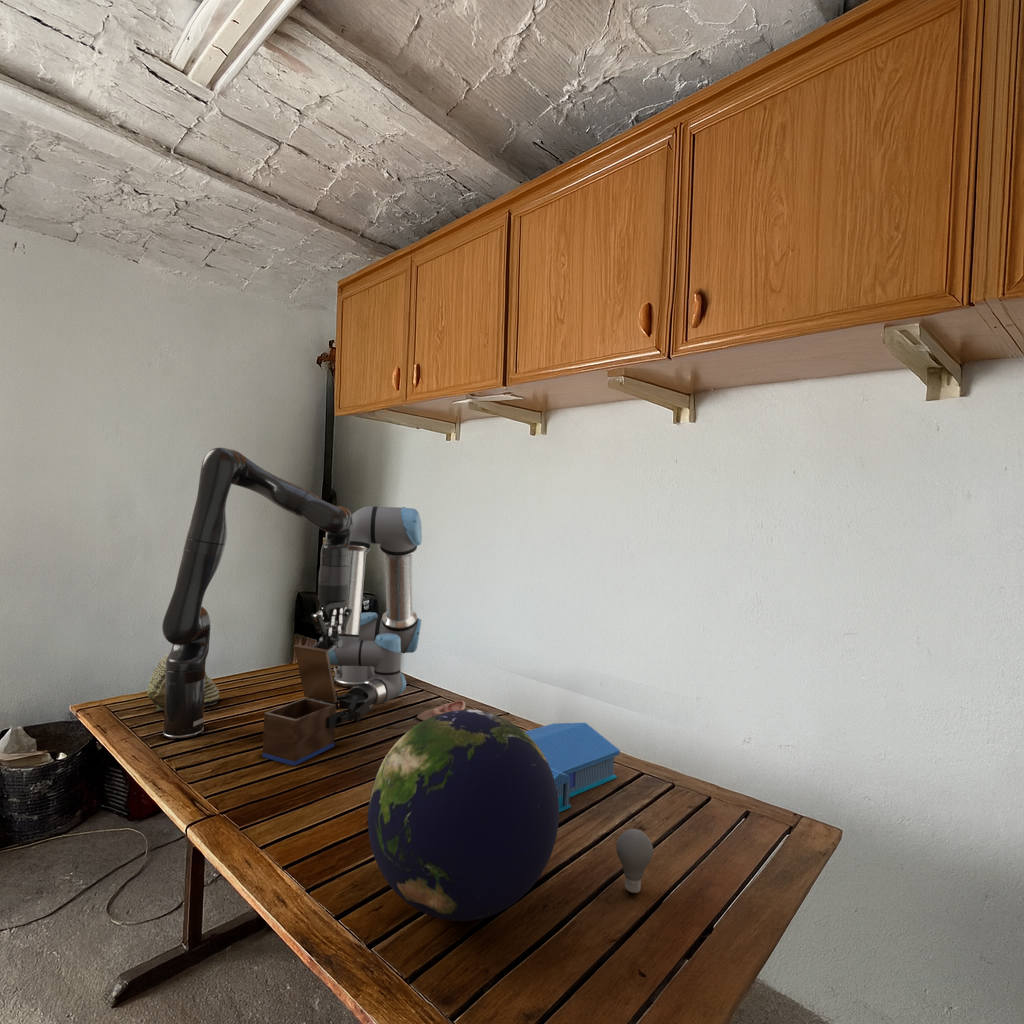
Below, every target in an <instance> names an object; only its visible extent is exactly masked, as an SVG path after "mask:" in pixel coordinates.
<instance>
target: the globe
mask: <svg viewBox="0 0 1024 1024" xmlns="http://www.w3.org/2000/svg"><path fill="white" fill-rule="evenodd" d="M525 732H526V731H524V730H523V729H521V727H519V726H517V725H516V724H514V723H513V722H511V721H510V720H508V719H506V718H504V717H501V716H499V715H497V714H495V713H492V712H487V711H483V710H479V709H464V710H457V711H450V712H445V713H442V714H439V715H436V716H433V717H431V718H429V719H427V720H425V721H423V720H422V721H421V722H419V723H418V724H417V725H414V726H413V727H412V728H411V729H409V730H408V731H407V732H405V734H403V735H402V736H401V737H400V738H399V739H398V740H397V741H396V742H395V743H394V745H392V747H391V748H390V750H389V751H388V753H387V754H386V755H385V757H384V758H383V760H382V762H381V764H380V766H379V768H378V770H377V772H376V775H375V778H374V780H373V783H372V787H371V791H370V793H369V800H368V801H369V802H368V809H367V829H368V831H367V832H368V838H369V843H370V847H371V852H372V855H373V857H374V860H375V863H376V865H377V867H378V869H379V871H380V873H381V874H382V876H383V878H384V880H385V881H386V883H387V885H389V886H390V888H391V889H392V890H393V891H394V892H395V894H397V896H399V897H400V898H401V900H403V902H405V903H406V904H408V905H409V906H410V907H412V908H414V909H415V910H417V911H419V912H421V913H423V914H425V915H428V916H430V917H432V918H436V919H440V920H443V921H448V922H449V921H450V922H471V921H477V920H482V919H486V918H488V917H491V916H494V915H496V914H499V913H501V912H502V911H505V910H506V909H508V908H510V907H511V906H512V905H514V904H515V903H517V902H518V901H519V900H520V899H521V898H522V897H524V896H525V895H526V894H527V893H528V892H529V891H530V890H531V889H532V888H533V886H534V885H535V884H536V883H537V881H538V880H539V879H540V877H541V876H542V874H543V872H544V870H545V869H546V867H547V865H548V863H549V860H550V858H551V856H552V853H553V851H554V847H555V845H556V840H557V835H558V832H559V823H560V812H559V801H558V793H557V788H556V784H555V780H554V777H553V774H552V771H551V769H550V766H549V764H548V761H547V760H546V758H545V756H544V754H543V753H542V751H541V750H540V748H539V747H538V746H537V744H536V743H535V742H534V741H533V740H532V739H531V738H530V737H529V736H528V735H527V734H526V733H525Z"/></svg>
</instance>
